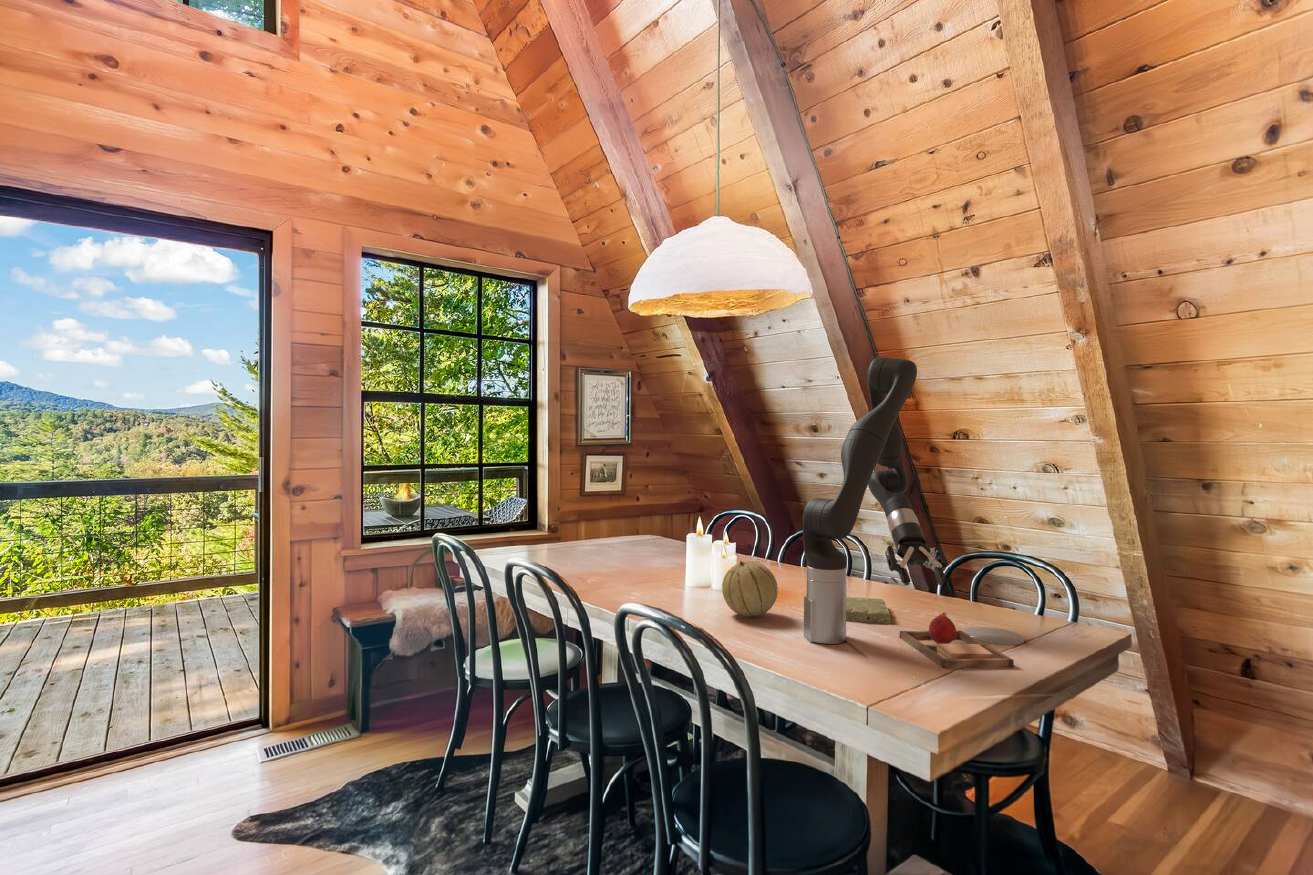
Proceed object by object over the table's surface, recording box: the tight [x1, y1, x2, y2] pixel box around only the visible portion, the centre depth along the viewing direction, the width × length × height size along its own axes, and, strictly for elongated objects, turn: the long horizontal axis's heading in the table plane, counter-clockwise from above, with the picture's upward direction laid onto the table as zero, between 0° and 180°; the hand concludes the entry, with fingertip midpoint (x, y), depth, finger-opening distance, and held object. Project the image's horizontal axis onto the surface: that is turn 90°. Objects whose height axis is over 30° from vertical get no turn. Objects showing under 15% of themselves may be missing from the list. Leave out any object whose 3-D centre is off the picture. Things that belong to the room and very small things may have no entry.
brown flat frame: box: [899, 630, 1014, 669], centre depth 156 cm, size 15×22×2 cm
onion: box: [928, 611, 957, 645], centre depth 161 cm, size 6×6×8 cm
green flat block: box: [846, 596, 892, 625], centre depth 191 cm, size 19×20×4 cm
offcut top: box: [936, 643, 993, 659], centre depth 150 cm, size 9×7×1 cm
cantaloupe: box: [721, 560, 779, 618], centre depth 187 cm, size 15×15×15 cm
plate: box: [963, 626, 1025, 646], centre depth 167 cm, size 13×13×1 cm
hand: (925, 583), depth 169 cm, fingers open, 8 cm apart
